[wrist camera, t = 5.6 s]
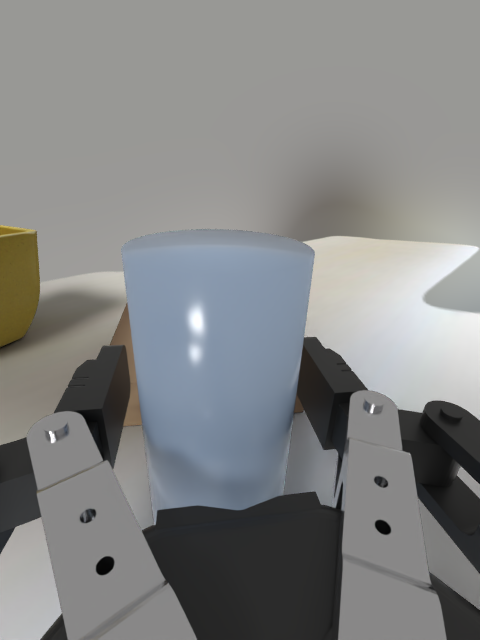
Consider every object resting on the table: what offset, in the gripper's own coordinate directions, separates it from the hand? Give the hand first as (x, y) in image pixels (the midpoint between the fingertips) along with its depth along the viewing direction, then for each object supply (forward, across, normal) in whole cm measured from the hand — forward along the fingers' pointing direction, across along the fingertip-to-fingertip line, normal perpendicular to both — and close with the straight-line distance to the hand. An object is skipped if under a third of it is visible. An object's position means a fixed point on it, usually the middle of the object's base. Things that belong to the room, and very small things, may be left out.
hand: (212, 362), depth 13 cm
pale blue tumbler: (-2, 0, +7) cm, 7 cm away
